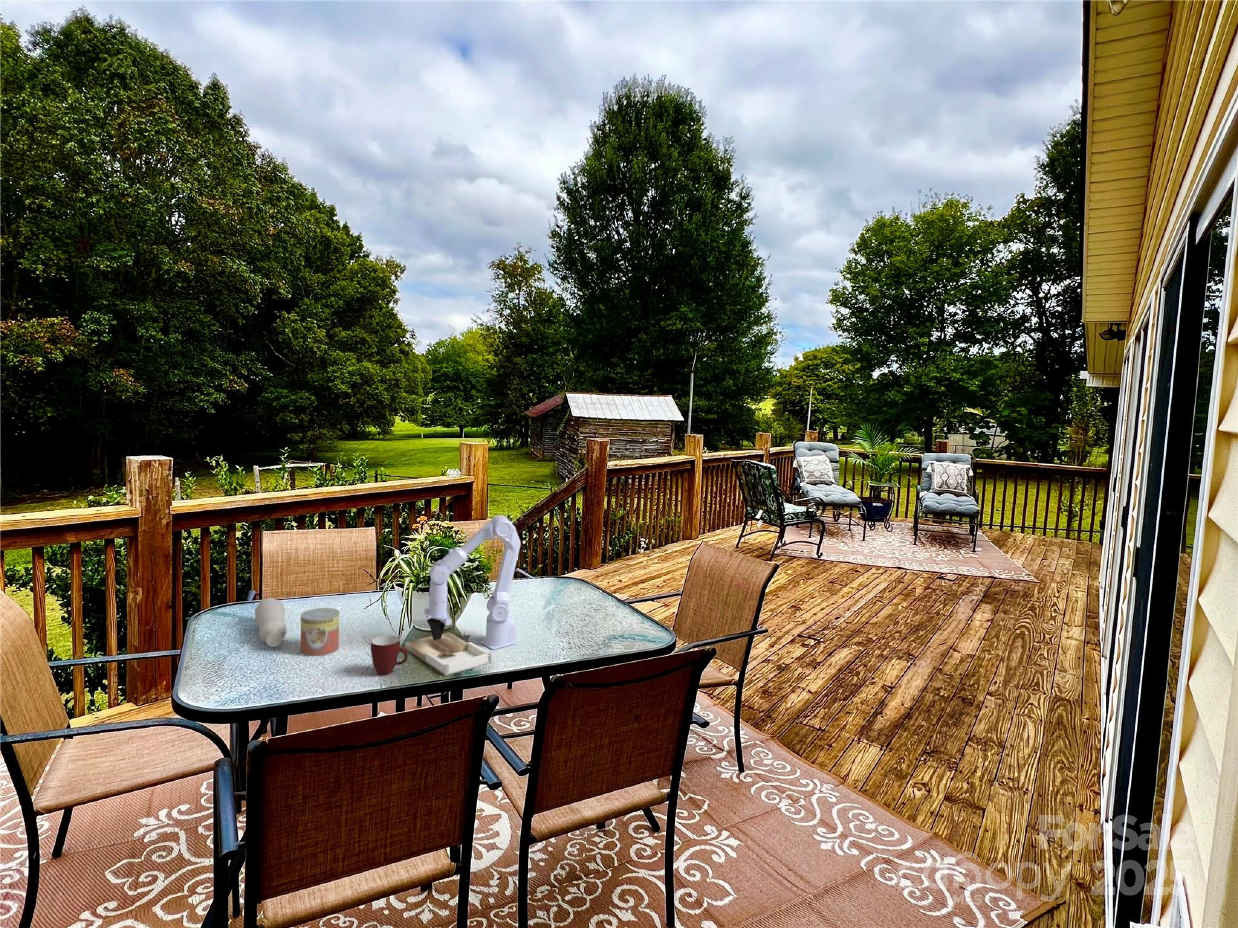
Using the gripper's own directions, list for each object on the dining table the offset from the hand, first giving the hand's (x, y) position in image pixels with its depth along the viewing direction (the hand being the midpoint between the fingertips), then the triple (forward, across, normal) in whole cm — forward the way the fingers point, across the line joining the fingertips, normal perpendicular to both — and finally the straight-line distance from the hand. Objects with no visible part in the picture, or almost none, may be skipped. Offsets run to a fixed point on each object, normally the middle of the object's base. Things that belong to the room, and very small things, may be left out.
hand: (436, 640), depth 209 cm
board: (+3, +1, 0) cm, 3 cm away
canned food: (+3, -21, -30) cm, 37 cm away
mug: (+3, +8, -20) cm, 22 cm away
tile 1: (+1, +3, 0) cm, 3 cm away
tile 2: (+1, +8, 0) cm, 8 cm away
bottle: (+3, -43, -38) cm, 58 cm away
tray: (+3, +14, 0) cm, 14 cm away
